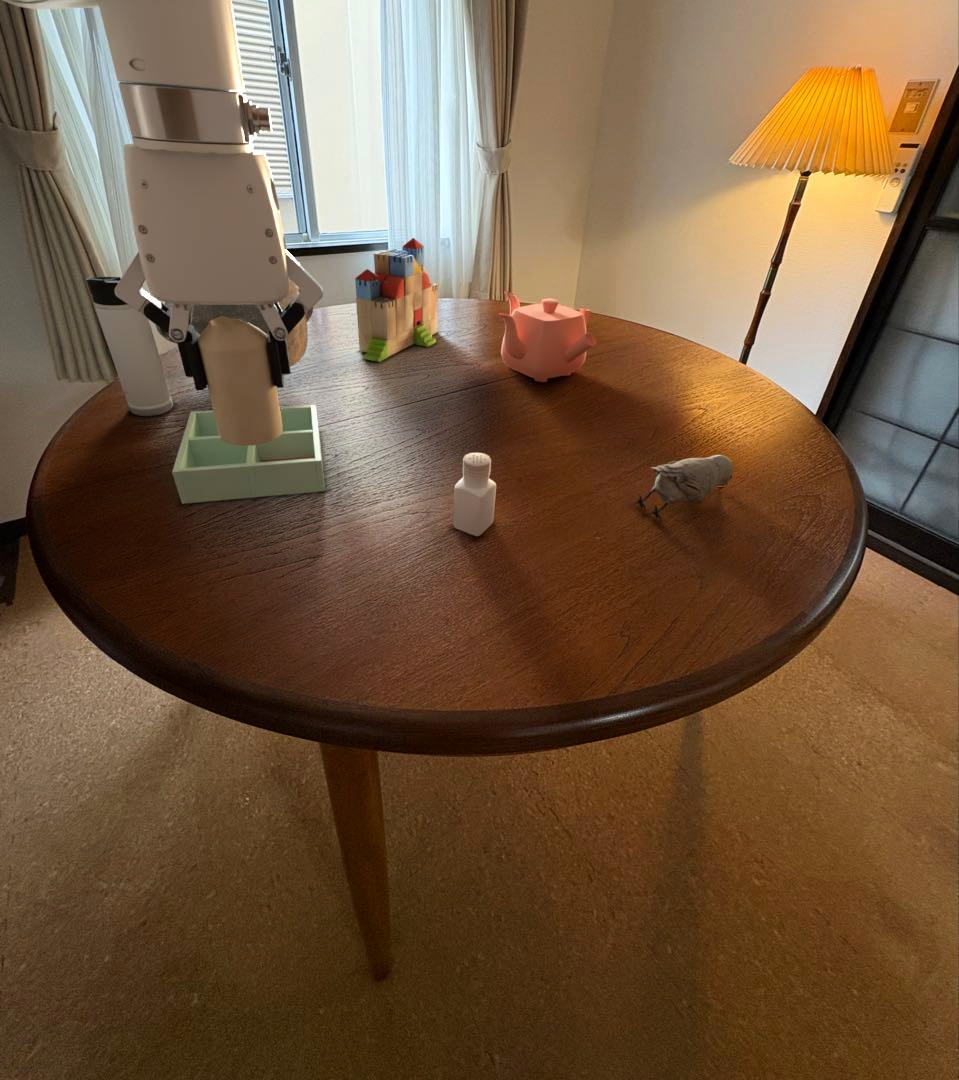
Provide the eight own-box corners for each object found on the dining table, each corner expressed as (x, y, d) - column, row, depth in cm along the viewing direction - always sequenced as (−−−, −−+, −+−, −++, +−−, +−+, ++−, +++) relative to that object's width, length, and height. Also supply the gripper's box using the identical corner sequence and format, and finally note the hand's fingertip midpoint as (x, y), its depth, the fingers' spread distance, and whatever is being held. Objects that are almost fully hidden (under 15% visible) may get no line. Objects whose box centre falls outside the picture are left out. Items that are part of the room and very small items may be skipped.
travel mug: (120, 414, 88) (71, 277, 76) (146, 398, 93) (105, 268, 81) (156, 419, 88) (114, 282, 75) (181, 403, 93) (145, 272, 81)
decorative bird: (736, 497, 79) (755, 450, 75) (656, 529, 72) (671, 479, 67) (706, 480, 83) (722, 434, 78) (626, 508, 75) (639, 459, 71)
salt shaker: (467, 513, 72) (471, 447, 66) (494, 523, 70) (500, 457, 65) (450, 528, 69) (453, 460, 63) (478, 539, 68) (483, 471, 62)
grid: (181, 504, 70) (171, 472, 67) (198, 440, 83) (190, 411, 80) (325, 491, 74) (321, 460, 71) (319, 432, 87) (315, 404, 85)
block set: (393, 366, 112) (389, 260, 100) (335, 352, 116) (325, 249, 104) (457, 331, 132) (460, 240, 121) (406, 320, 137) (404, 231, 125)
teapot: (492, 383, 108) (498, 308, 99) (499, 352, 122) (505, 284, 114) (587, 393, 107) (601, 318, 98) (582, 360, 121) (594, 292, 113)
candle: (296, 429, 53) (280, 318, 47) (253, 452, 48) (229, 335, 42) (250, 415, 54) (229, 306, 48) (205, 436, 50) (176, 321, 44)
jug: (256, 416, 90) (214, 201, 72) (153, 390, 96) (91, 184, 78) (340, 369, 109) (324, 188, 91) (250, 349, 115) (218, 175, 96)
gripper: (320, 130, 43) (340, 365, 53) (63, 112, 39) (141, 370, 49) (324, 134, 37) (346, 396, 48) (22, 114, 33) (121, 405, 44)
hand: (241, 381), depth 48 cm, fingers closed on candle, 5 cm apart
